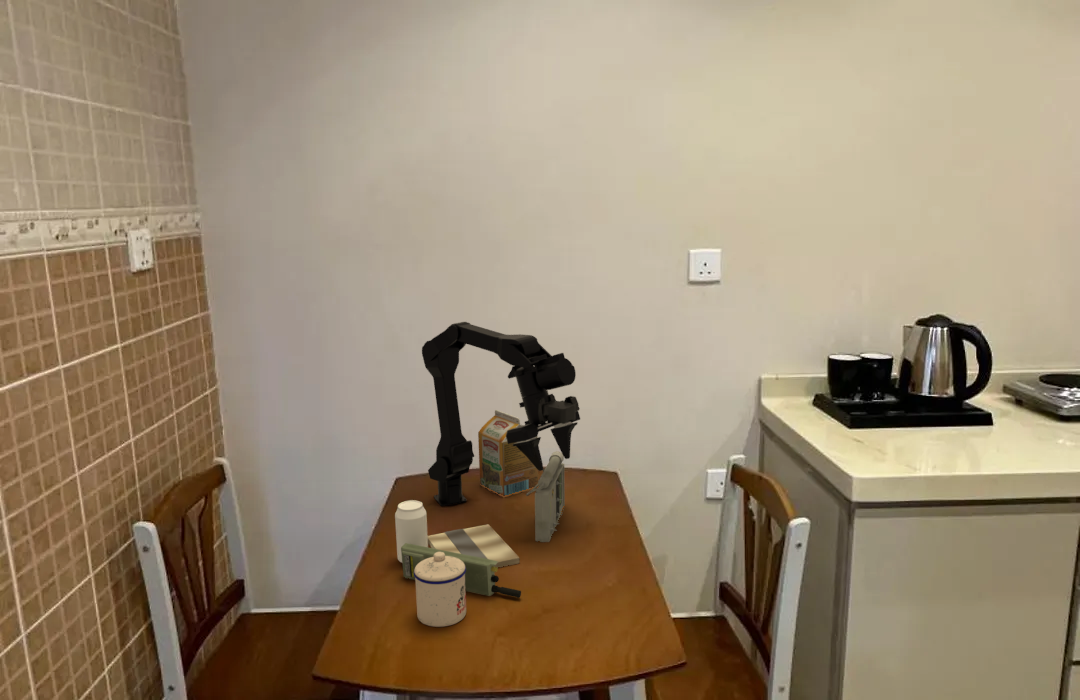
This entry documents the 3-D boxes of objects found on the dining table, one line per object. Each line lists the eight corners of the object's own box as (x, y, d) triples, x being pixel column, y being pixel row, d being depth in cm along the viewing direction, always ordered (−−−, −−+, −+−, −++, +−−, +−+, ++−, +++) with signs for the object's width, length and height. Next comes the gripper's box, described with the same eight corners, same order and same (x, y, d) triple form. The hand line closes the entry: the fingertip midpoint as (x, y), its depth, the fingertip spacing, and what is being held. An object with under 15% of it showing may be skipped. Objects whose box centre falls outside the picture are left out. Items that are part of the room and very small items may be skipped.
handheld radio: (410, 571, 159) (524, 596, 148) (401, 579, 156) (516, 605, 145) (408, 540, 157) (523, 563, 147) (398, 548, 154) (515, 571, 144)
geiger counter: (553, 480, 167) (572, 443, 191) (523, 479, 168) (546, 442, 192) (553, 543, 170) (572, 498, 194) (524, 541, 171) (546, 497, 195)
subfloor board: (427, 541, 172) (426, 535, 171) (488, 529, 177) (488, 523, 177) (452, 577, 155) (452, 571, 155) (519, 563, 161) (519, 556, 161)
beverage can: (431, 564, 161) (428, 508, 159) (400, 569, 159) (397, 512, 157) (425, 551, 167) (422, 497, 164) (395, 556, 165) (392, 501, 162)
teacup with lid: (469, 625, 138) (467, 563, 136) (416, 631, 137) (412, 567, 135) (465, 591, 150) (462, 533, 148) (415, 596, 148) (412, 537, 146)
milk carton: (480, 485, 203) (477, 413, 199) (514, 476, 209) (512, 406, 206) (503, 498, 195) (501, 422, 191) (538, 487, 201) (536, 414, 197)
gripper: (534, 396, 159) (555, 472, 159) (589, 378, 173) (609, 447, 173) (495, 406, 166) (515, 478, 166) (550, 387, 180) (570, 454, 180)
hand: (554, 464), depth 171 cm, fingers open, 9 cm apart
